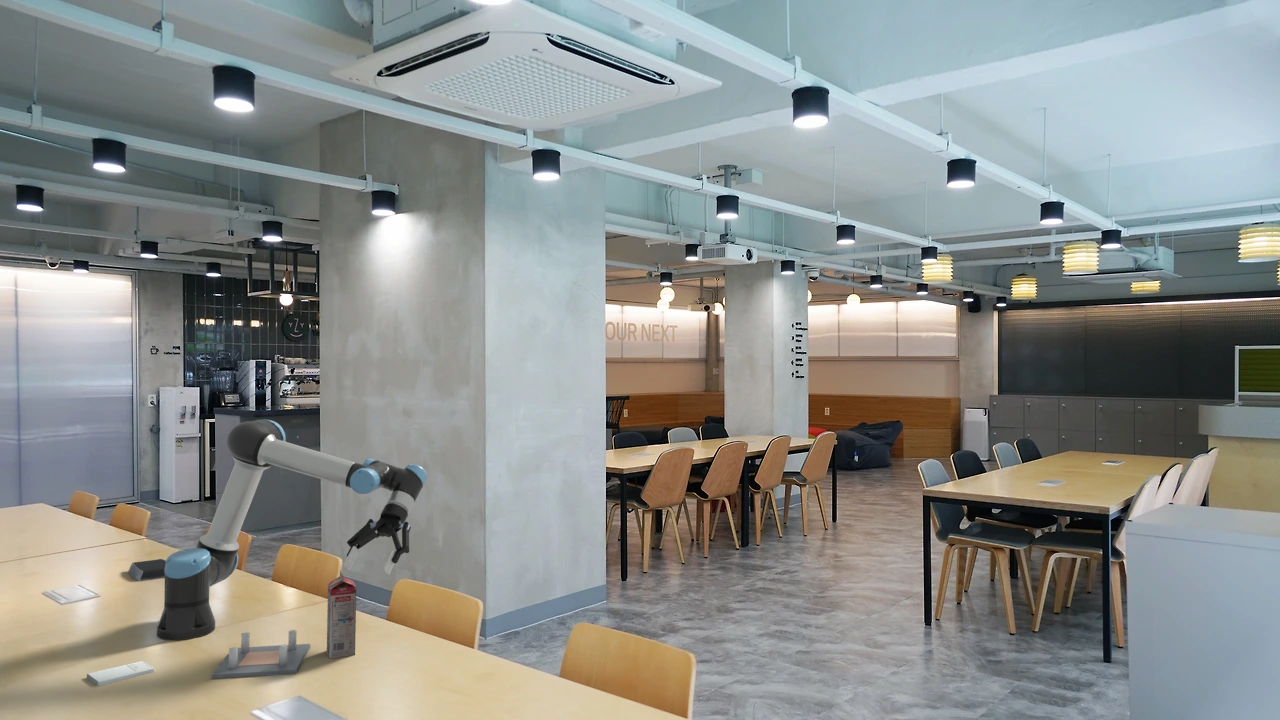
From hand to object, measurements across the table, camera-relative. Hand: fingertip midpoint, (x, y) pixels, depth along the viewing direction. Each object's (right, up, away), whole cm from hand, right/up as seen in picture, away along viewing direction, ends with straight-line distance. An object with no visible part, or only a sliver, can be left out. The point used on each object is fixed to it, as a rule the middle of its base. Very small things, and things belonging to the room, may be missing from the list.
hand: (365, 569), depth 233 cm
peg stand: (-21, -20, -18) cm, 34 cm away
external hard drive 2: (-53, -20, -28) cm, 63 cm away
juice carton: (-4, -21, -10) cm, 23 cm away
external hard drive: (-105, -21, +71) cm, 129 cm away
